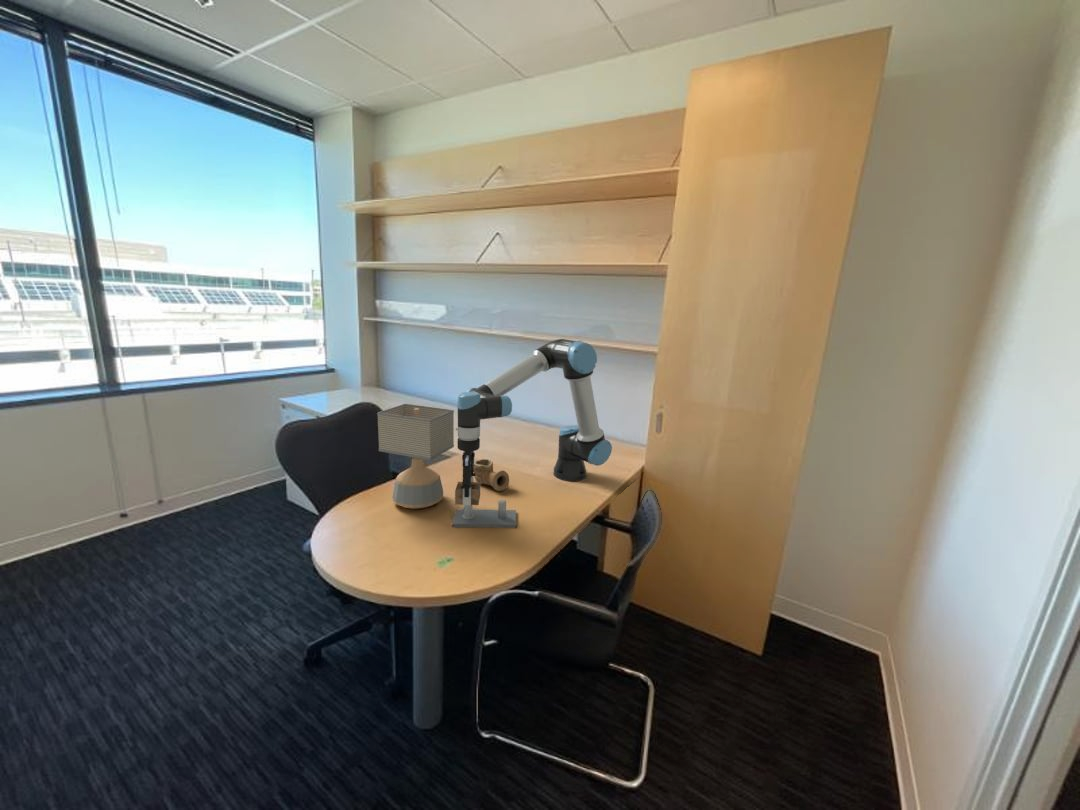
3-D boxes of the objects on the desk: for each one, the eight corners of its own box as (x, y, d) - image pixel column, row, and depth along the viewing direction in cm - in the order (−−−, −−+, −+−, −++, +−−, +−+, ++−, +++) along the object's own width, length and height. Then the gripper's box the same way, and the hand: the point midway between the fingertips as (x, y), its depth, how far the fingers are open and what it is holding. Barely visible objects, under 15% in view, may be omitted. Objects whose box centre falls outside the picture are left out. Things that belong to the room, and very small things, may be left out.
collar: (480, 495, 156) (480, 482, 155) (478, 505, 148) (478, 491, 147) (457, 494, 156) (458, 481, 155) (455, 504, 148) (455, 491, 147)
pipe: (495, 495, 174) (496, 471, 172) (467, 483, 184) (467, 461, 181) (510, 488, 181) (510, 465, 179) (482, 477, 191) (483, 456, 188)
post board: (515, 512, 160) (516, 484, 158) (515, 527, 150) (516, 498, 147) (456, 511, 159) (456, 484, 156) (451, 526, 148) (451, 497, 146)
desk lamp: (455, 496, 171) (455, 406, 163) (428, 517, 154) (427, 418, 145) (409, 487, 178) (407, 400, 170) (378, 506, 160) (374, 410, 152)
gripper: (461, 428, 157) (460, 486, 162) (453, 447, 136) (453, 512, 142) (482, 429, 157) (481, 487, 162) (477, 447, 137) (476, 513, 142)
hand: (468, 499), depth 152 cm, fingers closed on collar, 8 cm apart
